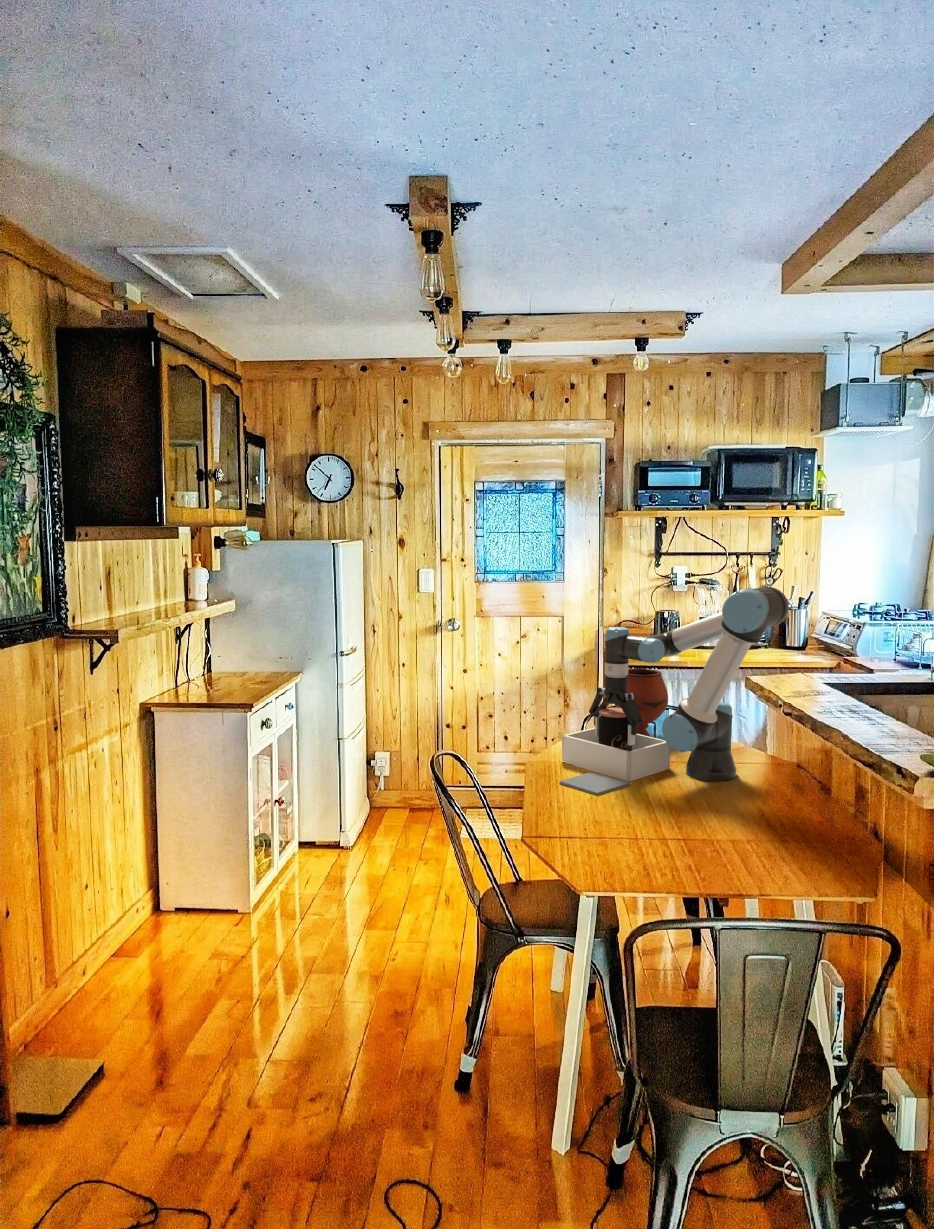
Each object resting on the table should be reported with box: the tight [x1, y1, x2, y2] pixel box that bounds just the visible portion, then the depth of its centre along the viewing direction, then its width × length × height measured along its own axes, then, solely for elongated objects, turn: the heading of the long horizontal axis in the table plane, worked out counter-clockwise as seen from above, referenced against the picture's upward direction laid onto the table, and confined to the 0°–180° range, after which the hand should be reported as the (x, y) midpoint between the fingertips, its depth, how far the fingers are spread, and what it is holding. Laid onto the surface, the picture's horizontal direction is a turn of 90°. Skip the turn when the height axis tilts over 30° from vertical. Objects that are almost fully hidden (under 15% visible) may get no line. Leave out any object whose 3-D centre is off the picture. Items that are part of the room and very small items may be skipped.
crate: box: [561, 727, 671, 782], centre depth 284 cm, size 28×20×9 cm
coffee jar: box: [599, 707, 632, 751], centre depth 283 cm, size 11×11×18 cm
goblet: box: [614, 668, 669, 737], centre depth 316 cm, size 19×19×25 cm
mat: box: [559, 771, 632, 796], centre depth 264 cm, size 15×15×1 cm
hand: (614, 740), depth 283 cm, fingers open, 13 cm apart
